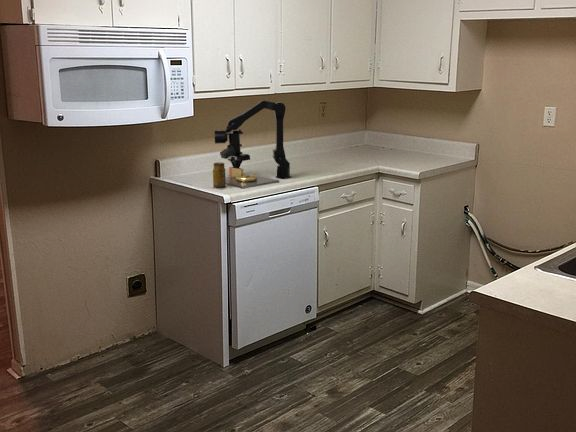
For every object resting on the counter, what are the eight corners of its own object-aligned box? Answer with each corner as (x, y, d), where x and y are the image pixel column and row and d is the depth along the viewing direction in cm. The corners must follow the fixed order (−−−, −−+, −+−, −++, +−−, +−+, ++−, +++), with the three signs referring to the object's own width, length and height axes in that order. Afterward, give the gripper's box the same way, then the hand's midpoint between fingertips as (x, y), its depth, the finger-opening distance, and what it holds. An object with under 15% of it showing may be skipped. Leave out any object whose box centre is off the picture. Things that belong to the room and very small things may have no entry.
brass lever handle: (230, 176, 336) (230, 166, 334) (260, 177, 332) (260, 167, 331) (222, 180, 324) (222, 170, 323) (253, 182, 321) (253, 172, 319)
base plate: (250, 175, 344) (250, 173, 343) (279, 182, 326) (279, 179, 326) (213, 181, 328) (213, 179, 328) (242, 188, 311) (242, 186, 311)
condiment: (220, 185, 320) (219, 161, 317) (231, 187, 314) (231, 163, 311) (209, 187, 314) (208, 163, 311) (220, 189, 309) (219, 165, 306)
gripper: (211, 142, 333) (213, 172, 337) (232, 146, 319) (234, 176, 323) (229, 140, 340) (230, 168, 344) (250, 143, 326) (251, 173, 330)
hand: (236, 172), depth 335 cm, fingers closed
